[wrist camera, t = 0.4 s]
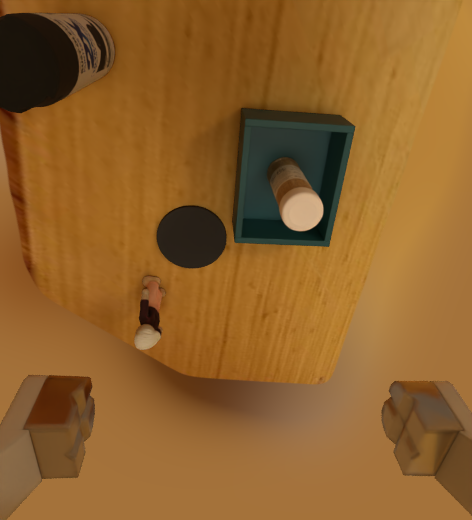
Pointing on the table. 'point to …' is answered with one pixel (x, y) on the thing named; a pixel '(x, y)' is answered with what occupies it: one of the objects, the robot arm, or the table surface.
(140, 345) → the grandmother figurine
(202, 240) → the pad
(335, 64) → the table surface
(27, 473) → the robot arm
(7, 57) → the spray can
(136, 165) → the table surface
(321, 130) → the basin
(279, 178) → the sprinkles bottle
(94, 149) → the table surface
